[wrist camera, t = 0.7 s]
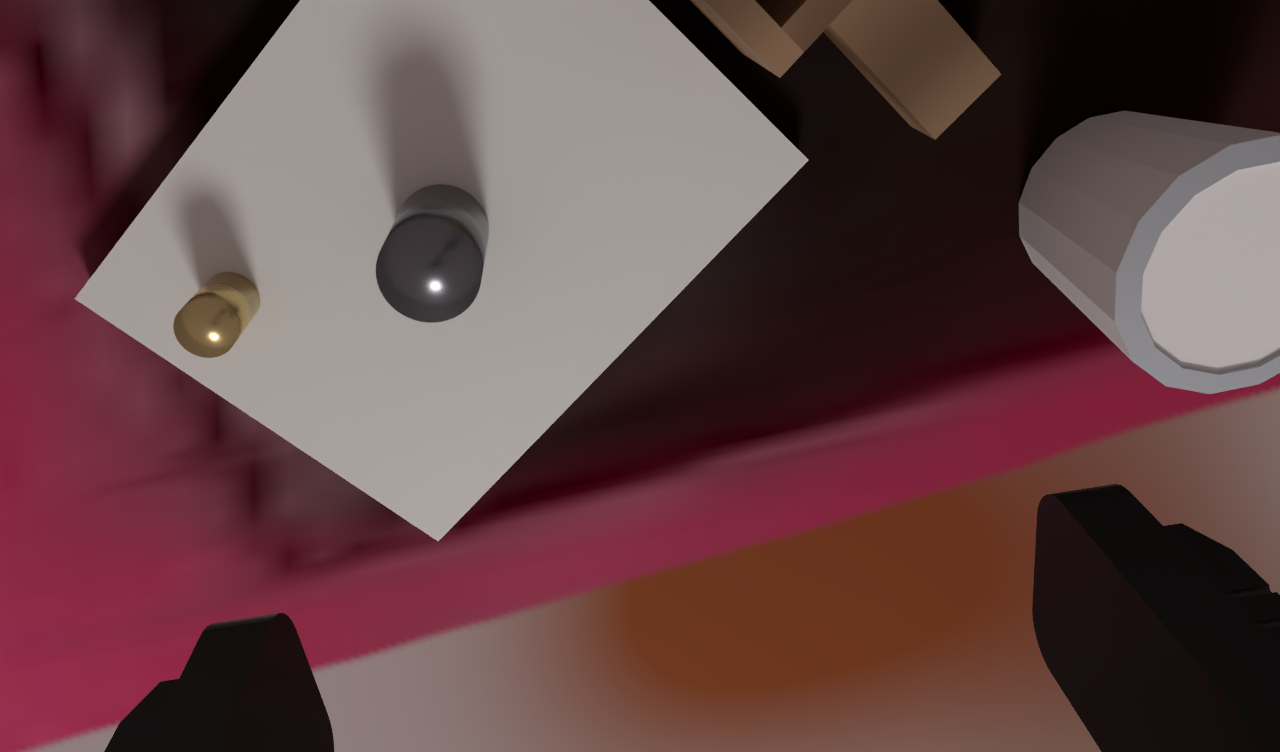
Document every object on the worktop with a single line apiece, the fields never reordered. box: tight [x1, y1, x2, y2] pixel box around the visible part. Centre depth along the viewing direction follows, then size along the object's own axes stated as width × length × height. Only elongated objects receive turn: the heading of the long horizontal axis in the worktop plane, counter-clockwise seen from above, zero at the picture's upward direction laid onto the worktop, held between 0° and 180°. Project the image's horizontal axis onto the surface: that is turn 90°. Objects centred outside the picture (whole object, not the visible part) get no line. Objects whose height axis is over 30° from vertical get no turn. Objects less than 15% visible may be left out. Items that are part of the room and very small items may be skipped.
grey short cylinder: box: [1019, 111, 1280, 394], centre depth 28 cm, size 7×7×7 cm
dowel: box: [173, 272, 260, 358], centre depth 27 cm, size 2×2×2 cm
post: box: [376, 184, 489, 323], centre depth 26 cm, size 3×3×4 cm
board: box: [75, 0, 808, 541], centre depth 29 cm, size 17×13×1 cm
